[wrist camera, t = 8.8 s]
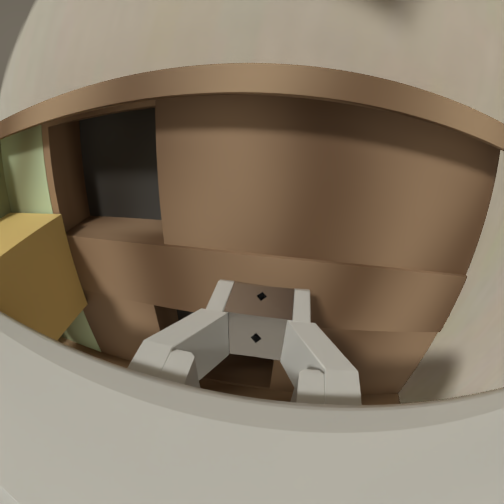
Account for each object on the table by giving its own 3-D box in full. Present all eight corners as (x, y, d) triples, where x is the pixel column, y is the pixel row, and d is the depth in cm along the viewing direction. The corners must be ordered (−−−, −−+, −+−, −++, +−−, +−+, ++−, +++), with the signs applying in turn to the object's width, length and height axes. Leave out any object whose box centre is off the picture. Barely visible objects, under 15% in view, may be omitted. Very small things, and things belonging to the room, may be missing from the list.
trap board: (470, 122, 8) (558, 145, 3) (386, 371, 15) (399, 443, 10) (22, 120, 10) (-47, 143, 6) (71, 320, 18) (34, 367, 13)
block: (61, 214, 10) (-21, 273, 6) (87, 304, 12) (34, 371, 8) (10, 212, 10) (-54, 256, 6) (34, 287, 13) (-14, 337, 9)
